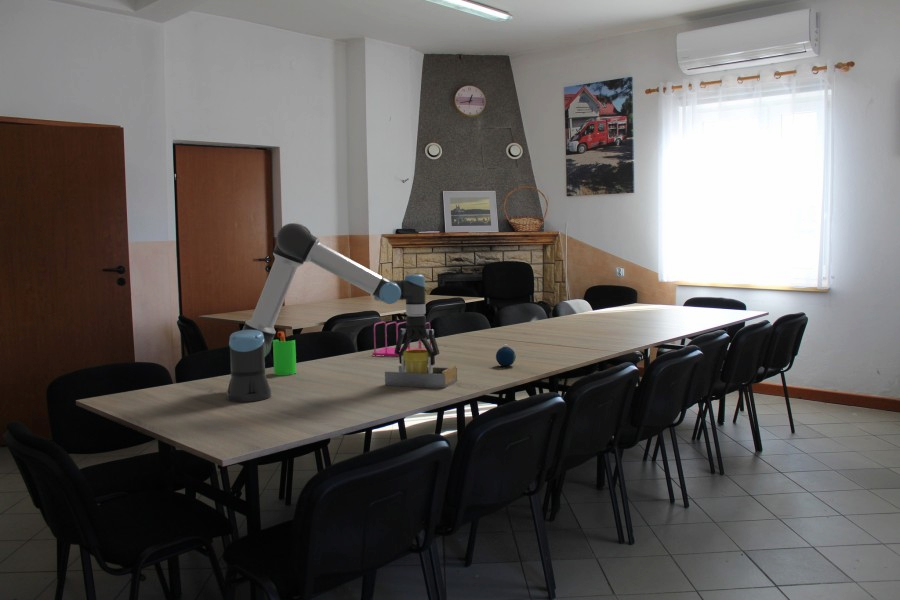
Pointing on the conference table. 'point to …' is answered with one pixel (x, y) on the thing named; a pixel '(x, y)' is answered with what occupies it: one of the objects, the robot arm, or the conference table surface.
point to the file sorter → (391, 351)
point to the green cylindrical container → (284, 356)
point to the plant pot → (416, 360)
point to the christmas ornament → (505, 356)
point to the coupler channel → (423, 378)
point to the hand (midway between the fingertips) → (417, 372)
